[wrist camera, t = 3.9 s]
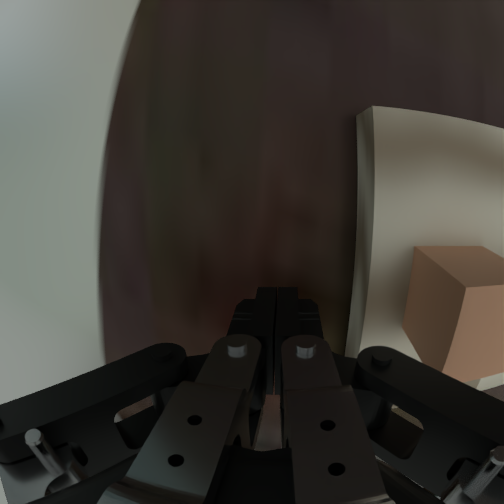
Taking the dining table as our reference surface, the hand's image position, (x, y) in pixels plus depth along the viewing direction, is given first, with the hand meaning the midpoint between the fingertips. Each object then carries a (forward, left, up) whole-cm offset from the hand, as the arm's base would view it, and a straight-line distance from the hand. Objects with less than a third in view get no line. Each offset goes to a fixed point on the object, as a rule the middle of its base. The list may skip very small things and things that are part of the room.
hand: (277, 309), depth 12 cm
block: (0, +8, -1) cm, 8 cm away
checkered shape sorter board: (0, +19, -4) cm, 19 cm away
